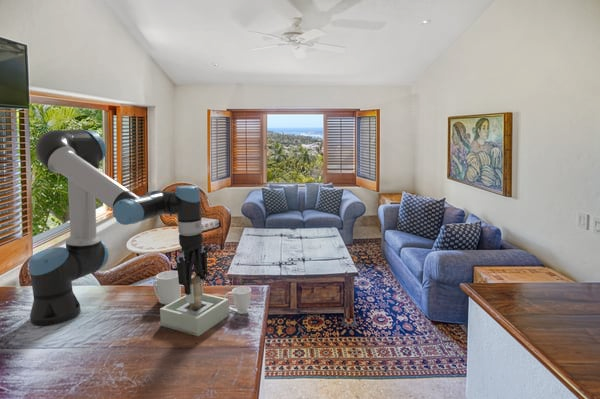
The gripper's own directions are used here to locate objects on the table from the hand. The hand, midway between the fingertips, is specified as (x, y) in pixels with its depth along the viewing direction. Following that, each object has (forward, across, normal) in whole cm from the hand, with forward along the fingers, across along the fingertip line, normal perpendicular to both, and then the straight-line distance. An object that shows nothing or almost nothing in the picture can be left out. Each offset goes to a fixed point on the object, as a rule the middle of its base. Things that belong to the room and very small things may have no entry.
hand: (195, 299), depth 134 cm
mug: (+8, +7, +20) cm, 23 cm away
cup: (+8, +12, -9) cm, 17 cm away
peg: (+4, 0, 0) cm, 4 cm away
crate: (+8, 0, 0) cm, 8 cm away
